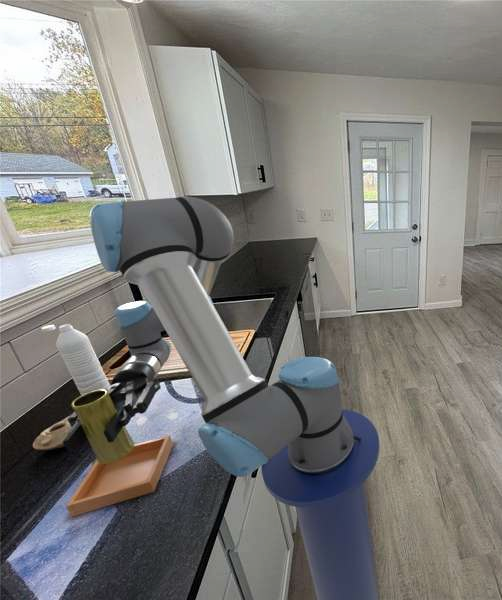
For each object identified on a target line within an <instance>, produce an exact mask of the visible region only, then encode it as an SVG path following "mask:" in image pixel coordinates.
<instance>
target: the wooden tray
mask: <svg viewBox="0 0 502 600" xmlns="http://www.w3.org/2000/svg"><path fill="white" fill-rule="evenodd" d="M173 446H174V442H173V440H172V437H171V434H170V435H165V436H162V437H158V438H153V439H150V440H145V441H143V442H139V443H135V445H134V448H133V449H132V451H131V452H130V453H129V454H127V455H126V456H124V457H123V458H121V459H119V460H117V461H115V462H112V463H109V464H100V463H98V461H97V459H96V460H95V461H94V463H93V465H92V466H91V468H90V469H89V471H88V472H87V474H85V476H84V478H83V480H82V481H81V483H80V484H79V486H78V487H77V488H76V490H75V491H74V493H73V495H72V497H71V498H70V500H68V502H67V504H66V505H65V508H66V509H67V511H68V513H69V514H70V516H71V517H75V516H78V515H82V514H85V513H89V512H92V511H95V510H98V509H102V508H105V507H108V506H112V505H115V504H118V503H121V502H124V501H128V500H131V499H135V498H138V497H141V496H144V495H148V494H152V493H154V492H155V491H156V488H157V486H158V483H159V481H160V478H161V476H162V474H163V471H164V469H165V466H166V463H167V461H168V459H169V456H170V454H171V451H172V449H173Z"/></svg>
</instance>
